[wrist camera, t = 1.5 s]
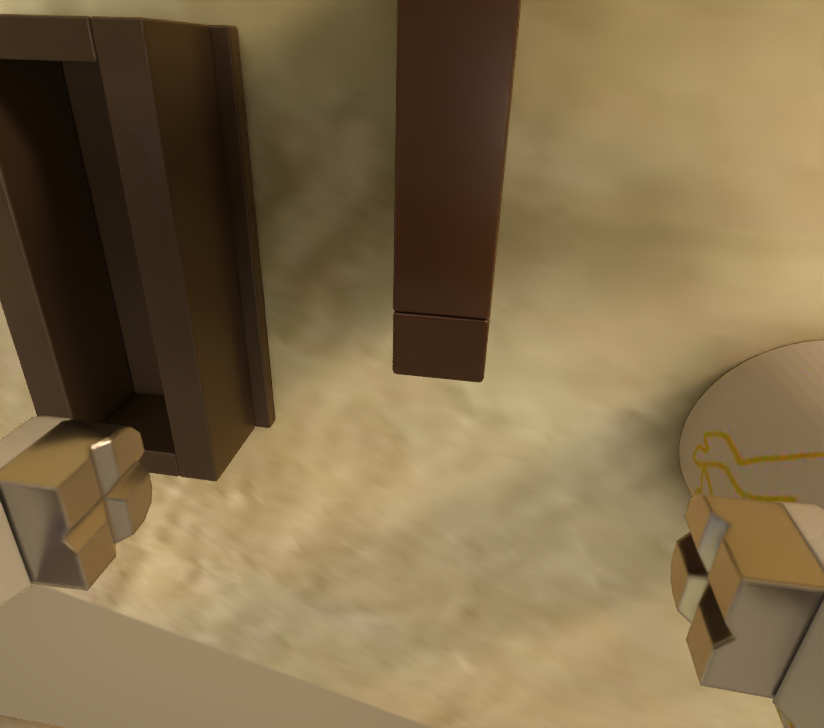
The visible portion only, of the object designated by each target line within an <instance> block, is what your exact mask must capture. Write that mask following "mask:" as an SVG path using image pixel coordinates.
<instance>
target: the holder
mask: <svg viewBox="0 0 824 728" xmlns="http://www.w3.org/2000/svg"><path fill="white" fill-rule="evenodd" d="M0 301H1V304H2V308H3V311H4V314H5V317H6V320H7V323H8V326H9V329H10V332H11V336H12V339H13V342H14V345H15V348H16V351H17V354H18V357H19V361H20V364H21V367H22V370H23V373H24V376H25V379H26V382H27V385H28V389H29V392H30V395H31V398H32V401H33V404H34V407H35V410H36V414H37V416H44V415H45V416H54V417H62V418H69V419H78V420H85V421H92V422H100V423H107V424H114V425H121V426H128V427H132V428H133V429H135V430H137V431H138V432H140V435H141V439H142V443H143V447H144V450H145V451H144V452H143V454H142V456H141V457H140V459H139V460H138V462H139V463H140V464H141V465H142V466H143V468H144V469H145V470H146V471H147V472H148V473H156V474H164V475H171V476H181V477H186V478H194V479H202V480H209V481H217V480H218V479H219V477H220V476H221V475H222V473H223V472H224V470H225V469H226V468H227V466H228V465H229V463H230V462H231V460H232V459H233V458H234V456H235V455H236V453H237V452H238V451H239V449H240V448H241V446H242V445H243V444H244V442H245V441H246V439H247V438H248V436H249V435H250V434H251V432H252V431H253V429H254V428H255V426H257V427H266V428H270V427H271V426H272V424H273V423H274V421H275V416H274V405H273V395H272V385H271V374H270V364H269V354H268V343H267V333H266V323H265V312H264V302H263V292H262V281H261V271H260V261H259V250H258V240H257V230H256V220H255V209H254V199H253V189H252V178H251V168H250V158H249V147H248V137H247V127H246V116H245V106H244V96H243V85H242V75H241V65H240V54H239V44H238V34H237V28H236V27H235V26H228V25H204V24H195V23H186V22H177V21H168V20H159V19H150V18H141V17H101V16H92V17H90V16H60V15H19V14H0Z"/></svg>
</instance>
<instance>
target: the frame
mask: <svg viewBox="0 0 824 728" xmlns="http://www.w3.org/2000/svg"><path fill="white" fill-rule="evenodd" d="M520 6H521V0H397V65H396V138H395V210H394V283H393V309H394V311H395V312H394V314H393V372H394V373H395V374H402V375H412V376H422V377H431V378H441V379H451V380H461V381H471V382H482V380H483V379H484V371H485V361H486V351H487V341H488V331H489V322H490V312H491V302H492V292H493V282H494V272H495V262H496V252H497V242H498V232H499V221H500V211H501V201H502V191H503V180H504V170H505V160H506V150H507V140H508V129H509V119H510V109H511V99H512V88H513V78H514V68H515V58H516V47H517V37H518V27H519V17H520Z"/></svg>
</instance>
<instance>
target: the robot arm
mask: <svg viewBox="0 0 824 728" xmlns="http://www.w3.org/2000/svg"><path fill="white" fill-rule="evenodd" d="M144 451H145V450H144V447H143V443H142V439H141V435H140V432H138V431H137V430H135V429H133V428H132V427H128V426H121V425H114V424H107V423H100V422H92V421H85V420H78V419H69V418H62V417H54V416H45V415H44V416H37V417H32V418H30V419H29V420H28V421H26V422H25V423H23V424H22V425H21V426H19V427H18V428H16V429H15V430H14V431H12V432H11V433H9V434H8V435H7V436H5V437H4V438H2V439H1V440H0V606H2V605H3V604H5V603H7V602H8V601H10V600H11V599H13V598H15V597H16V596H18V595H20V594H21V593H23V592H24V591H26V590H28V589H29V588H31V587H32V585H31V584H38V585H46V586H54V587H62V588H70V589H78V590H86V591H88V590H89V589H90V587H91V586H92V585H93V584H94V582H95V581H96V580H97V579H98V578H99V576H100V575H101V574H102V573H103V571H104V570H105V569H106V568H107V567H108V565H109V564H110V563H111V562H112V560H113V559H114V558H115V557H116V543H118V542H120V541H122V540H124V539H126V538H127V537H129V536H131V535H133V534H134V533H135V532H136V531H137V530H138V528H139V527H140V526H141V524H142V523H143V522H144V520H145V518H146V515H147V513H148V510H149V507H150V505H151V501H152V484H151V479H150V474H149V473H148V472H147V471H146V470H145V469H144V468H143V466H142V465H141V464H140V463H139V462H138V460H139V459H140V457H141V456H142V454H143V452H144ZM684 517H685V519H686V522H687V525H688V527H689V530H690V532H689V533H688V534H686V535H685V536H683V537H682V538H680V539H679V540H678V541H677V542H676V545H675V549H674V553H673V557H672V563H671V585H672V593H673V597H674V601H675V604H676V608H677V611H678V612H679V613H680V614H681V615H683V616H684V617H685V618H686V619H687V620H688V621H689V622H690V623H691V626H690V629H689V632H688V635H687V638H686V641H687V644H688V647H689V650H690V653H691V657H692V660H693V663H694V666H695V669H696V673H697V676H698V679H699V682H700V685H701V686H707V687H712V688H718V689H723V690H729V691H734V692H740V693H745V694H751V695H756V696H762V697H767V698H773V699H774V700H773V703H774V704H775V705H776V706H777V708H778V709H779V710H780V711H781V712H782V713H783V714H784V715H785V717H786V718H787V719H788V720H789V721H790V722H791V723H792V724H793V726H794V727H795V728H824V510H823V509H821V508H820V507H818V506H817V505H813V504H802V503H791V502H780V501H774V502H767V501H758V500H749V499H740V498H731V497H722V496H713V495H704V494H695V495H694V496H693V497H692V499H691V500H690V502H689V504H688V507H687V510H686V513H685V516H684ZM0 728H67V727H61V726H56V725H51V724H45V723H40V722H34V721H29V720H23V719H18V718H13V717H8V716H2V715H0Z"/></svg>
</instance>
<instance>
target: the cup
mask: <svg viewBox="0 0 824 728" xmlns="http://www.w3.org/2000/svg"><path fill="white" fill-rule="evenodd" d="M679 460H680V466H681V470H682V473H683V476H684V479H685V481H686V484H687V486H688V489H689V491H690V494H691V496H692V497H693V496H694V495H695V494H704V495H713V496H722V497H731V498H740V499H749V500H758V501H767V502H774V501H780V502H791V503H802V504H813V505H817V506H818V507H820V508H821V509H823V510H824V340H822V341H810V342H802V343H797V344H792V345H788V346H784V347H780V348H777V349H774V350H771V351H768V352H765V353H763V354H760V355H758V356H756V357H753V358H751V359H749V360H747V361H745V362H744V363H742V364H740V365H738V366H737V367H735V368H733V369H732V370H730V371H729V372H728V373H726V374H725V375H723V376H722V377H721V378H720V379H718V380H717V381H716V382H715V383H714V384H713V385H712V386H711V387H710V388H709V389H708V390H707V391H706V392H705V393H704V394H703V395H702V396H701V397H700V399H699V400H698V401H697V403H696V404H695V406H694V407H693V408H692V410H691V412H690V414H689V415H688V418H687V420H686V422H685V424H684V427H683V430H682V434H681V438H680V444H679ZM772 699H773V698H772ZM773 700H774V699H773ZM775 707H776V709H777V712H778V714H779V717H780V719H781V722H782V724H783V727H784V728H795V727H794V726H793V724H792V723H791V722H790V721H789V720H788V719H787V718H786V717H785V715H784V714H783V713H782V712H781V711H780V710H779V709H778V708H777V706H776V705H775Z"/></svg>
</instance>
